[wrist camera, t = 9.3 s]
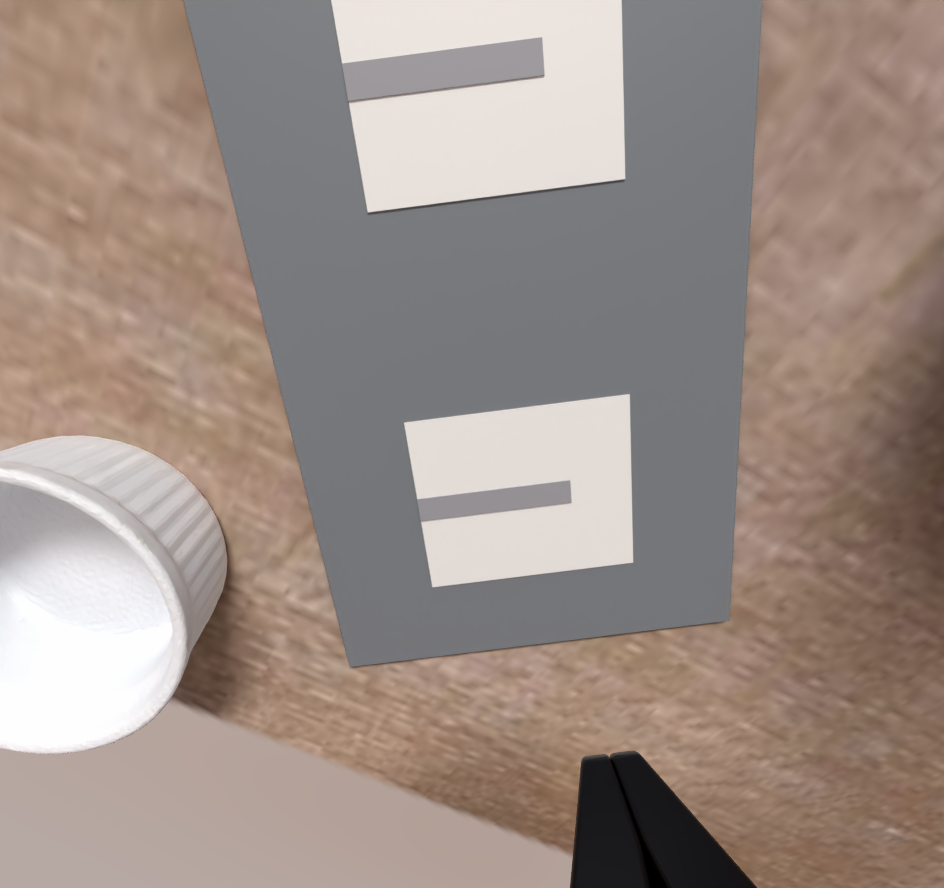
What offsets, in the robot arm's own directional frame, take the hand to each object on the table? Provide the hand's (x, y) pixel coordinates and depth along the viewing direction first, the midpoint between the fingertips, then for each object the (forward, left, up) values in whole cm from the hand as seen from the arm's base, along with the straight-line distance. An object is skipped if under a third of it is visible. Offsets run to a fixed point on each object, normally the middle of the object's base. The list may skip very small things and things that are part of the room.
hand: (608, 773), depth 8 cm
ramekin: (+14, 0, -10) cm, 17 cm away
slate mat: (0, -6, -10) cm, 12 cm away
